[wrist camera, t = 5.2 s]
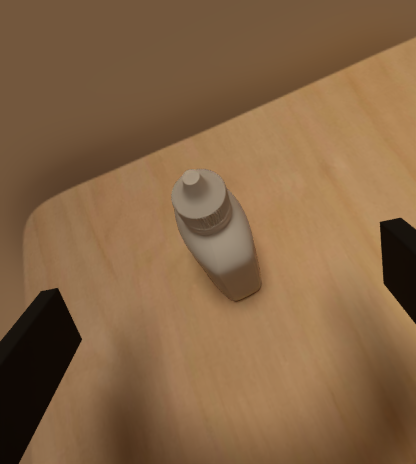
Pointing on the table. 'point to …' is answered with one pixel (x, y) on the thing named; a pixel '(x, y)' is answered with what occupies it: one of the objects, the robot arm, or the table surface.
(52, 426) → the table surface
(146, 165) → the table surface
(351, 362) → the table surface
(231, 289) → the eye dropper bottle
